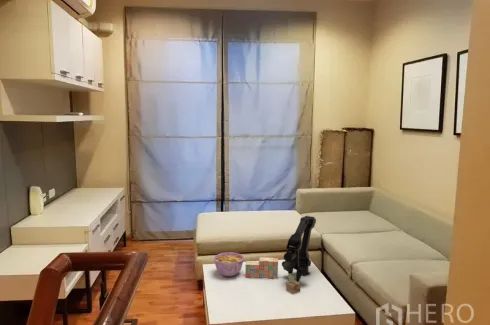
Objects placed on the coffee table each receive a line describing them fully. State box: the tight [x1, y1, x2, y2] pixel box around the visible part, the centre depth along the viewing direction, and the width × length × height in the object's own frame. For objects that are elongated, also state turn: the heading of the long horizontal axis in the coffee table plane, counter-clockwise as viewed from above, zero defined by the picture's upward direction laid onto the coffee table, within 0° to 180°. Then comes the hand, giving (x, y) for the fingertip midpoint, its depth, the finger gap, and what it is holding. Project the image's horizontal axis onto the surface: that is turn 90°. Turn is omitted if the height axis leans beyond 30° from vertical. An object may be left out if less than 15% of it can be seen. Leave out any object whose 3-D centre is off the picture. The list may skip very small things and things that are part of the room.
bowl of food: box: [213, 251, 245, 277], centre depth 256 cm, size 20×20×12 cm
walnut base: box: [285, 280, 301, 295], centre depth 230 cm, size 6×6×5 cm
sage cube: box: [288, 271, 301, 283], centre depth 244 cm, size 5×5×5 cm
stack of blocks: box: [244, 257, 279, 280], centre depth 252 cm, size 21×6×12 cm, turn 84°
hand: (294, 280), depth 244 cm, fingers open, 6 cm apart
